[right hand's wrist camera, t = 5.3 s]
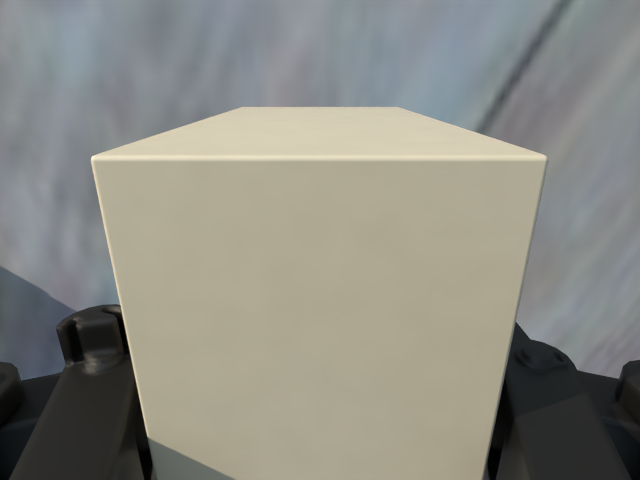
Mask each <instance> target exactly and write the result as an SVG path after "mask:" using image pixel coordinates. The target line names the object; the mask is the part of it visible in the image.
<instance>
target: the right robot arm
mask: <svg viewBox="0 0 640 480" xmlns="http://www.w3.org/2000/svg"><path fill="white" fill-rule="evenodd" d="M56 330H57V334H58V337H59V341H60V345H61V348H62V352H63V356H64V359H65V363H66V366H65V368H64V370H63V372H61V373H57V374H53V375H48V376H43V377H38V378H33V379H28V380H23V381H21V378H20V375H19V372H18V369H17V368H16V367H15V366H14V365H12V364H11V363H5V362H0V480H156V477H155V472H154V467H153V462H152V457H151V452H150V447H149V443H148V438H147V433H146V428H145V423H144V418H143V413H142V408H141V403H140V399H139V394H138V389H137V384H136V379H135V374H134V369H133V364H132V359H131V354H130V350H129V345H128V340H127V335H126V330H125V325H124V320H123V315H122V310H121V306H120V305H117V304H115V305H100V306H95V307H90V308H87V309H84V310H82V311H79V312H76V313H74V314H72V315H71V316H69V317H67V318H65V319H64V320H63V321H62V322H61V323H60V324H59V325H58V326H57V327H56ZM484 480H640V360H636V361H629V362H628V363H627V364H625V365H624V366H623V368H622V371H621V374H620V377H619V379H616V378H611V377H606V376H601V375H596V374H591V373H586V372H582V371H578V370H577V369H576V367H575V365H574V363H573V362H572V361H571V360H570V359H569V357H568V356H567V355H565V354H564V353H563V352H561V351H560V350H558V349H557V348H555V347H552V346H550V345H548V344H545V343H543V342H539V341H535V340H531V339H530V338H529V337H528V336H527V335H526V334H525V332H524V331H523V330H522V329H521V327H520V326H519V325H518V324H517V322H516V323H515V328H514V332H513V337H512V342H511V347H510V352H509V357H508V362H507V367H506V372H505V377H504V381H503V386H502V391H501V396H500V401H499V406H498V411H497V416H496V421H495V426H494V431H493V435H492V440H491V445H490V450H489V455H488V460H487V465H486V470H485V475H484Z"/></svg>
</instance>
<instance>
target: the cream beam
mask: <svg viewBox="0 0 640 480" xmlns="http://www.w3.org/2000/svg"><path fill="white" fill-rule="evenodd" d="M91 164H92V169H93V173H94V178H95V183H96V188H97V193H98V198H99V203H100V208H101V213H102V217H103V222H104V227H105V232H106V237H107V242H108V247H109V252H110V257H111V262H112V266H113V271H114V276H115V281H116V286H117V291H118V296H119V301H120V306H121V310H122V315H123V320H124V325H125V330H126V335H127V340H128V345H129V350H130V354H131V359H132V364H133V369H134V374H135V379H136V384H137V389H138V394H139V399H140V403H141V408H142V413H143V418H144V423H145V428H146V433H147V438H148V443H149V447H150V452H151V457H152V462H153V467H154V472H155V477H156V480H484V475H485V470H486V465H487V460H488V455H489V450H490V445H491V440H492V435H493V431H494V426H495V421H496V416H497V411H498V406H499V401H500V396H501V391H502V386H503V381H504V377H505V372H506V367H507V362H508V357H509V352H510V347H511V342H512V337H513V332H514V328H515V323H516V318H517V313H518V308H519V303H520V298H521V293H522V288H523V283H524V279H525V274H526V269H527V264H528V259H529V254H530V249H531V244H532V239H533V234H534V229H535V225H536V220H537V215H538V210H539V205H540V200H541V195H542V190H543V185H544V180H545V176H546V171H547V166H548V157H547V156H545V155H543V154H540V153H537V152H534V151H531V150H527V149H524V148H521V147H518V146H515V145H512V144H509V143H506V142H503V141H500V140H497V139H494V138H491V137H488V136H485V135H482V134H479V133H475V132H472V131H469V130H466V129H463V128H460V127H457V126H454V125H451V124H448V123H445V122H442V121H439V120H436V119H433V118H430V117H426V116H423V115H420V114H417V113H414V112H411V111H408V110H405V109H402V108H399V107H241V108H238V109H235V110H232V111H229V112H225V113H222V114H219V115H216V116H213V117H210V118H207V119H204V120H201V121H198V122H195V123H192V124H189V125H186V126H183V127H179V128H176V129H173V130H170V131H167V132H164V133H161V134H158V135H155V136H152V137H149V138H146V139H143V140H140V141H136V142H133V143H130V144H127V145H124V146H121V147H118V148H115V149H112V150H109V151H106V152H103V153H100V154H97V155H94V156H92V158H91Z"/></svg>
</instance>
